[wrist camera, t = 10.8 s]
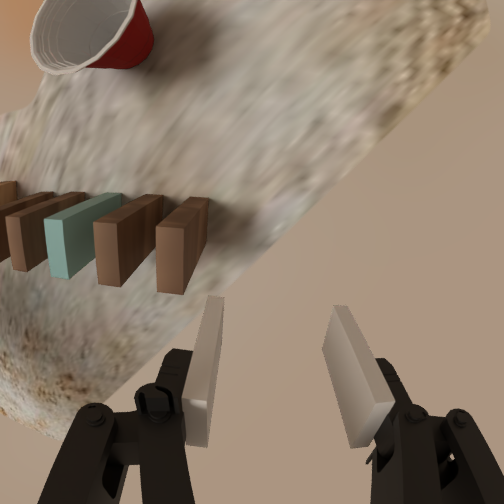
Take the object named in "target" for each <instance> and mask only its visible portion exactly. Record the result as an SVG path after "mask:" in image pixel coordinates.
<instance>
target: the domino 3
mask: <svg viewBox="0 0 504 504" xmlns="http://www.w3.org/2000/svg"><path fill="white" fill-rule="evenodd" d="M120 207H122V202H121V193H104V194H101V195H99V196H96V197H94V198H91V199H89V200H86V201H84V202H81V203H79V204H77V205H74V206H72V207H70V208H67V209H65V210H63V211H60V212H58V213H56V214H54V215H51V216H49V217H47V218H45V219H44V227H45V237H46V245H47V253H48V260H49V267H50V273H51V277H57V278H62V279H70V278H71V277H73V276H74V275H75V274H76V273H77V272H78V271H80V270H81V269H82V268H83V267H84V266H86V265H87V264H88V263H89V262H90V261H92V260H93V259H94V258H95V257H96V256H95V244H94V229H93V222H94V221H96V220H98V219H99V218H101V217H103V216H105V215H107V214H109V213H110V212H112V211H114V210H116V209H118V208H120Z"/></svg>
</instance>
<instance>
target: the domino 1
mask: <svg viewBox="0 0 504 504" xmlns="http://www.w3.org/2000/svg"><path fill="white" fill-rule="evenodd" d="M52 198H53V192H39V193H36V194H33V195H30V196H27V197H24V198H21V199H18V200H15V201H13V202H10V203H7V204H4V205H2V206H0V262H2V261H3V260H5V259H7V258H8V257H10V256H11V254H10V248H9V242H8V234H7V226H6V216H8V215H11V214H13V213H16V212H18V211H21V210H23V209H26V208H28V207H31V206H33V205H36V204H39V203H41V202H44V201H47V200H49V199H52Z"/></svg>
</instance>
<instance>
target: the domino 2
mask: <svg viewBox="0 0 504 504" xmlns="http://www.w3.org/2000/svg"><path fill="white" fill-rule="evenodd" d="M84 201H85V193H84V192H69V193H66V194H63V195H61V196H58V197H55V198H52V199H49V200H47V201H44V202H41V203H39V204H36V205H33V206H31V207H28V208H26V209H23V210H21V211H18V212H16V213H13V214H11V215H8V216H6V226H7V234H8V242H9V248H10V254H11V260H12V266H13V270H18V271H23V272H28V271H30V270H31V269H32V268H34V267H35V266H37V265H38V264H40V263H41V262H43V261H44V260H45V259H47V258H48V253H47V245H46V237H45V227H44V219H45V218H47V217H49V216H51V215H54V214H56V213H58V212H60V211H63V210H65V209H67V208H70V207H72V206H74V205H77V204H79V203H81V202H84Z"/></svg>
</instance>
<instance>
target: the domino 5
mask: <svg viewBox="0 0 504 504" xmlns="http://www.w3.org/2000/svg"><path fill="white" fill-rule="evenodd" d="M208 202H209V198H202V197H189V198H188V199H187V200H186V201H184V202H183V203H182V204H181V205H180V206H179V207H177V208H176V209H175V210H174V211H173V212H172V213H170V214H169V215H168V216H167V217H166V218H165V219H164V220H163V221H161V222H160V223H159V224H158V225H157V226H156V273H157V292H162V293H170V294H179V295H183V294H184V292H185V290H186V288H187V285H188V283H189V281H190V278H191V276H192V274H193V272H194V269H195V267H196V265H197V263H198V260H199V258H200V256H201V254H202V251H203V249H204V247H205V245H206V237H207V219H208Z"/></svg>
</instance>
